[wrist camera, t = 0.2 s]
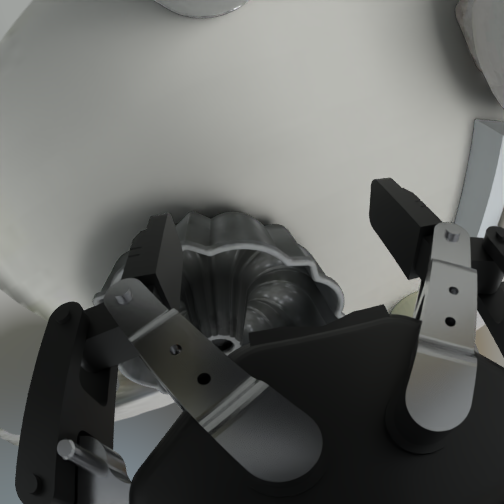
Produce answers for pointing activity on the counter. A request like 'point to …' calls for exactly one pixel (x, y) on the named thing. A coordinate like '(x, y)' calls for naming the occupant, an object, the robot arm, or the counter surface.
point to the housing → (483, 180)
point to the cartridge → (501, 220)
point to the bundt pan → (241, 284)
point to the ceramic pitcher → (485, 39)
